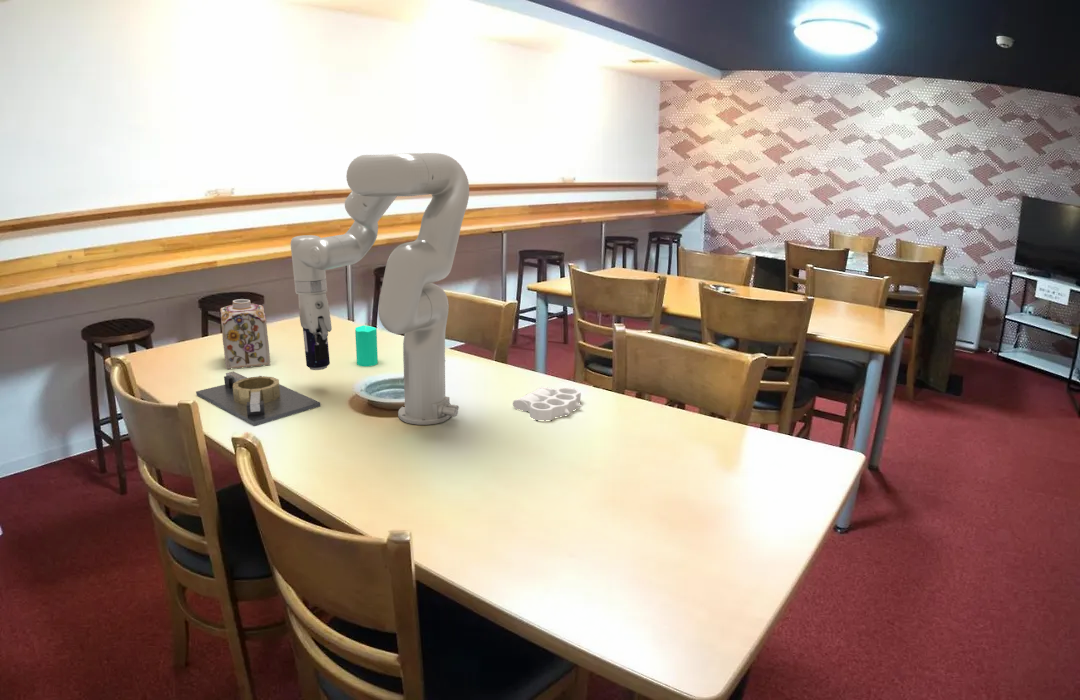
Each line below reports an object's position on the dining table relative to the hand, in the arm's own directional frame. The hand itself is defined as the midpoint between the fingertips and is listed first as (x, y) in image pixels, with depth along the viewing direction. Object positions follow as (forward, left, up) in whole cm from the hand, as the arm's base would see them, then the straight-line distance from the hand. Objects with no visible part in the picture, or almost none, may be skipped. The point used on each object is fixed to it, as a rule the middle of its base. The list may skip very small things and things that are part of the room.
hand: (317, 356), depth 177 cm
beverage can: (0, 0, -3) cm, 3 cm away
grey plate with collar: (+8, +13, -9) cm, 18 cm away
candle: (+4, -24, -9) cm, 26 cm away
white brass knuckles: (-57, -18, -10) cm, 61 cm away
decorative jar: (+34, -8, -10) cm, 36 cm away
